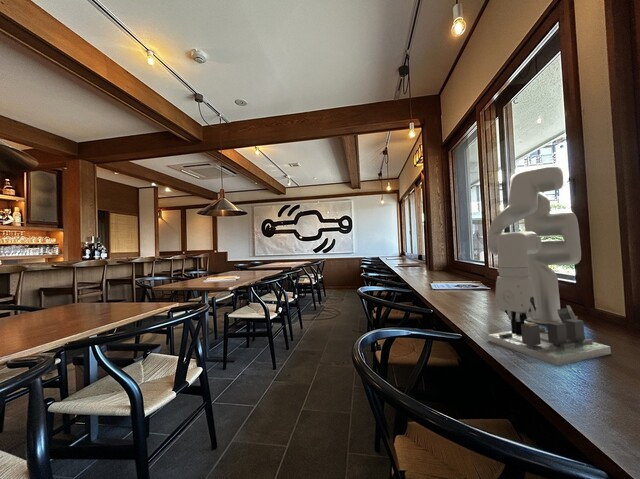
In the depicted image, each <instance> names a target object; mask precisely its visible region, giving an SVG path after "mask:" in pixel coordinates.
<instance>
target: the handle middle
mask: <svg viewBox="0 0 640 479" xmlns="http://www.w3.org/2000/svg"><path fill="white" fill-rule="evenodd" d="M546 326H547V329H546V330H548V341H549V342H550V343H554V344H557V345H560V344H563V343H567V332H566V324H565V323H560V322H550V323H547V324H546Z"/></svg>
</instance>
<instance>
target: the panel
mask: <svg viewBox="0 0 640 479" xmlns="http://www.w3.org/2000/svg"><path fill="white" fill-rule="evenodd" d="M539 330H540V342H541V344H539V345H533V346H530V345H527V344H524V343H522V334H520V335H516V334H513V333H512V330H508V331H502V332H501V331H500V332H497V333H496V332H495V333H491V334H487V340H488V342H490V341H491V343H492V344H495V345H499V346H502V347H504V348H507V349H511V350H513V351H516V352H518V353H521V354H524V355H526V356H529V357H532V358H535V359H538V360H540V361H543V362H546V363H548V364H551V365H553V366H557V367H558V366H563V365H567V364H572V363H576V362H580V361H585V360H590V359H594V358H600V357H603V356H607V355H611V354H612V352H611V346H609V345H606V344H602V343H598V342H594V341H593V339H592V338H585V339H584V340H579V341H573V340H569V339H567V343H563V344H560V345H557V344H554V343H550V342H549V341H548V329H546V327H544V326H539Z"/></svg>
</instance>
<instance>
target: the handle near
mask: <svg viewBox="0 0 640 479" xmlns="http://www.w3.org/2000/svg"><path fill="white" fill-rule="evenodd" d="M565 324H566V332H567V339H569V340H573V341H579V340H584V339H586V338H585V322H584V320H582V319H578V320H577V319H569V320H565Z"/></svg>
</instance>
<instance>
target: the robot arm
mask: <svg viewBox="0 0 640 479" xmlns="http://www.w3.org/2000/svg"><path fill="white" fill-rule="evenodd" d="M568 178H569V170H568V168H567V167H566V165H564V163H562V162H561V163H554V164H548V165H544V166H540V167H535V168H529V169H525V170H521V171H517V172H515V173H514V174H512V175H511V177H510V185H509V191H508V192H509V193H508V198H507V199H508V200H507V206H506V207H505V208H504V209H503V210H502V211H500V212H499V213H498V214H497V215H496V217H495V218H494V219H493V220H492V222H491V223H490V226H489V230H488V236H487V248H488V251H489V252H490V253H491V254H492V255H494V256H495V255H496V256H497V261H498V262H497V263H498V268H497V269H496V271H497V273H498V275H499V276H497V278H496V281H495V305H496V307H497V308H498V309H499V310H500V311H501V312H503V313H505V314H506V315H507V318H508V320H510V326H511V331H512V333H513V334H516V335H520V334H522V331H521V324H524V323H525V322H526V321H528V322H529V323H536V324H538V325H547V323H550V322H560V323H562V321H561V319H560V317H559V315H560V314H559V315H558V311H557V310H558V309H561V302H560V301H561V300H560V292H559V278H558V274H556V271H554V270H553V269H552V268H550V267H549V266H573V265H578V264H579V263H580V261H581V260H582V248H581V237H580V227H579V222H578V218H577V216H576V214H575V212H573V211H571V210H560V211H559V210H558V211H557V210H556V211H552V210H551V200H550V197H548V196H547V195H546V194H544V193H545V192H551V191H558V190H560V189H562V188H563V187H564V186H565V185H566V184H567V182H568V181H569V179H568ZM522 220H524V222H523V223H524V230H525V231H511V232H509V231H508V232H503V231H504V230H505V229H506V228H508V227H509V226H511V225H513V224H515V223H517V222H520V221H522ZM549 237H550V238H552V237H562V238H563V239H553V240H552V239H547V240H542V238H549Z"/></svg>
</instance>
